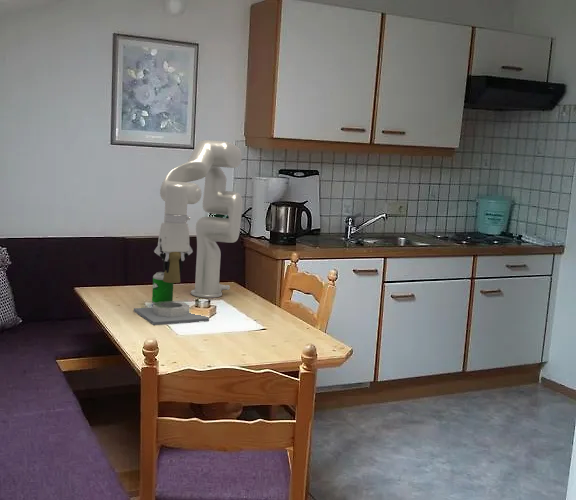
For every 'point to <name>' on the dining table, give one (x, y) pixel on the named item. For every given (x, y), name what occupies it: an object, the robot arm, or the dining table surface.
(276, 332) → the dining table surface
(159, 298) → the soda can
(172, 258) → the cork
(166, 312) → the steel collar
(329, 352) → the dining table surface
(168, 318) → the slate board
